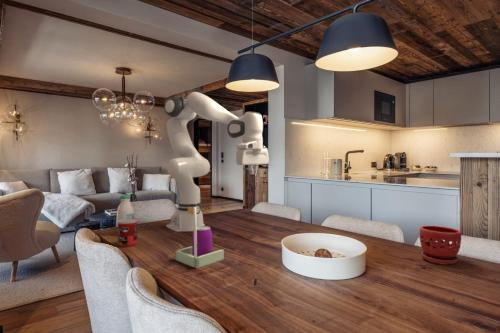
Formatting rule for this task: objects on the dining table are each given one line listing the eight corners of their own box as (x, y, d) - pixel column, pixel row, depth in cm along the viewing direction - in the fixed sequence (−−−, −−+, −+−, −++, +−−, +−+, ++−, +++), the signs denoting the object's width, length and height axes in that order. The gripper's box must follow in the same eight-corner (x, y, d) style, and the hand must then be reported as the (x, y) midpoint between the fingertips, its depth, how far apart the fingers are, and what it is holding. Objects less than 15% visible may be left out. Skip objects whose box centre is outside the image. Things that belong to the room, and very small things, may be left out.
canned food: (115, 245, 137) (114, 220, 137) (132, 241, 143) (132, 218, 143) (123, 248, 132) (122, 223, 132) (140, 244, 138) (140, 220, 137)
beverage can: (211, 261, 114) (210, 229, 114) (190, 262, 114) (190, 230, 114) (213, 255, 122) (212, 225, 122) (194, 255, 122) (193, 225, 122)
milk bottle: (121, 237, 151) (120, 196, 150) (115, 234, 157) (114, 195, 156) (136, 234, 156) (135, 195, 155) (131, 231, 162) (130, 194, 161)
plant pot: (466, 268, 105) (466, 234, 105) (422, 264, 110) (423, 231, 109) (455, 256, 117) (455, 225, 117) (416, 253, 122) (417, 223, 121)
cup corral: (175, 259, 117) (174, 203, 116) (202, 251, 126) (201, 200, 126) (196, 268, 108) (195, 207, 107) (223, 259, 117) (223, 203, 116)
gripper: (262, 146, 157) (262, 173, 157) (233, 145, 142) (233, 174, 142) (272, 146, 152) (271, 173, 153) (243, 144, 137) (243, 175, 138)
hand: (253, 174), depth 147 cm, fingers closed
